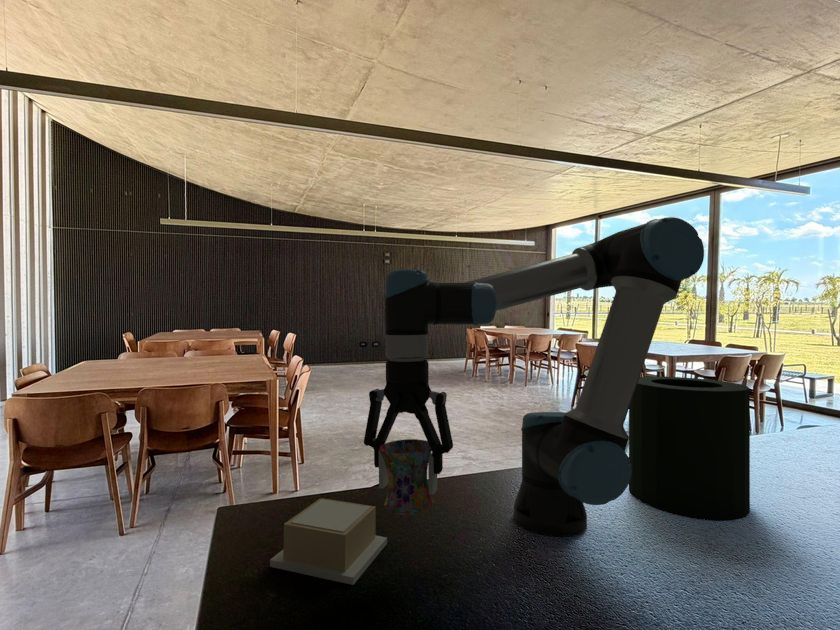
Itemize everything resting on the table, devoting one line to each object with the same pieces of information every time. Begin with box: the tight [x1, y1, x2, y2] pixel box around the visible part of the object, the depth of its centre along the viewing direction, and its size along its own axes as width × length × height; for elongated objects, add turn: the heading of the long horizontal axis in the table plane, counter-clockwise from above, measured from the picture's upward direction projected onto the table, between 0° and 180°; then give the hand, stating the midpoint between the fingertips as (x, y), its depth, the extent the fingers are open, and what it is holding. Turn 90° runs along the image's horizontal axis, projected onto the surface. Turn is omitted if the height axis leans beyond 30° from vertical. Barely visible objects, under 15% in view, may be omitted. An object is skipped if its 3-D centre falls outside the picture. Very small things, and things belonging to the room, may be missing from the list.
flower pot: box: [628, 376, 751, 522], centre depth 108 cm, size 25×25×28 cm
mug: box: [379, 438, 435, 516], centre depth 78 cm, size 12×9×11 cm
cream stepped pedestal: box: [269, 497, 388, 586], centre depth 81 cm, size 16×14×7 cm
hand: (408, 488), depth 77 cm, fingers closed on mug, 8 cm apart
